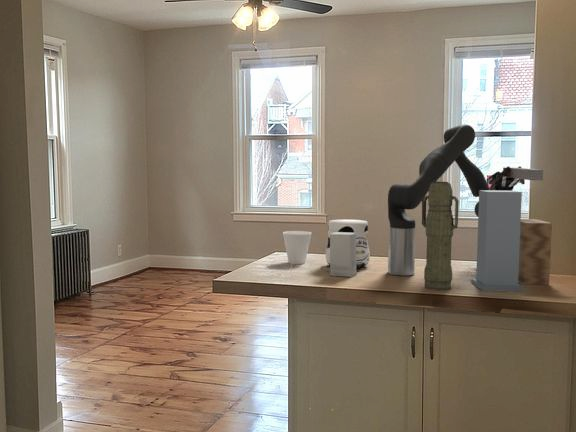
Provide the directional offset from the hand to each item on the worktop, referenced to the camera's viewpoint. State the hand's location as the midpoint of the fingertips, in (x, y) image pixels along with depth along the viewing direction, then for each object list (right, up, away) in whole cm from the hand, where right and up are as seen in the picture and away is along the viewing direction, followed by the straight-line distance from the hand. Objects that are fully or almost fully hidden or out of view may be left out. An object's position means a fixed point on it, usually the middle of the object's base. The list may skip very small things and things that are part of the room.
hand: (514, 168), depth 218 cm
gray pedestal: (-12, -41, -15) cm, 45 cm away
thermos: (-32, -41, -16) cm, 54 cm away
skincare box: (-61, -39, +4) cm, 73 cm away
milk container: (-58, -37, +21) cm, 72 cm away
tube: (0, -4, -7) cm, 8 cm away
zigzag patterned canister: (+3, -40, -4) cm, 40 cm away
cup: (-78, -36, +30) cm, 91 cm away
